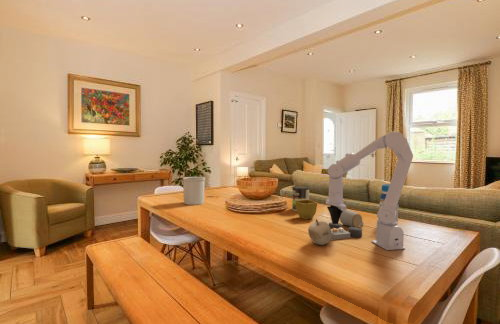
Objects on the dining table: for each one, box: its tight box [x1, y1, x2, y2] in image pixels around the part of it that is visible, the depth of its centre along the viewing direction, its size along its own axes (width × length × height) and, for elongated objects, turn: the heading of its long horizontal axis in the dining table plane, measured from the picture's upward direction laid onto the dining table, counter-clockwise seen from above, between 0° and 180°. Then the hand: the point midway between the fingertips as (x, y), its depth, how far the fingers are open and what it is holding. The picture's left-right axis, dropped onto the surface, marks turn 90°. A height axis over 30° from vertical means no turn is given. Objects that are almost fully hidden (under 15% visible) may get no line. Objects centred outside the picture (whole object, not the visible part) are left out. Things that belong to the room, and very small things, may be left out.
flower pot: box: [295, 199, 318, 220], centre depth 147 cm, size 9×9×9 cm
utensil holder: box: [182, 176, 206, 206], centre depth 186 cm, size 15×15×18 cm
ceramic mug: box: [339, 208, 364, 228], centre depth 132 cm, size 11×8×8 cm
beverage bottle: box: [379, 183, 400, 223], centre depth 131 cm, size 8×8×20 cm
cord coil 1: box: [328, 222, 342, 229], centre depth 125 cm, size 6×6×3 cm
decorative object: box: [307, 219, 331, 246], centre depth 107 cm, size 9×9×10 cm
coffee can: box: [291, 185, 310, 212], centre depth 166 cm, size 10×10×14 cm
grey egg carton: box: [330, 227, 351, 241], centre depth 117 cm, size 7×10×4 cm
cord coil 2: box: [347, 226, 363, 239], centre depth 118 cm, size 6×6×3 cm
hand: (335, 223), depth 116 cm, fingers closed
